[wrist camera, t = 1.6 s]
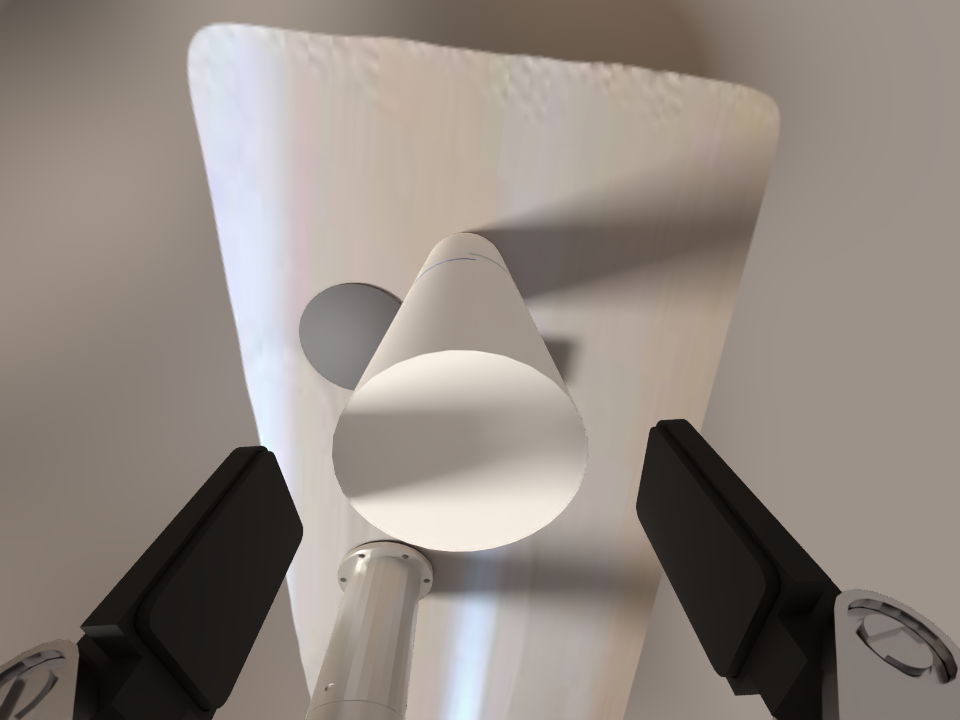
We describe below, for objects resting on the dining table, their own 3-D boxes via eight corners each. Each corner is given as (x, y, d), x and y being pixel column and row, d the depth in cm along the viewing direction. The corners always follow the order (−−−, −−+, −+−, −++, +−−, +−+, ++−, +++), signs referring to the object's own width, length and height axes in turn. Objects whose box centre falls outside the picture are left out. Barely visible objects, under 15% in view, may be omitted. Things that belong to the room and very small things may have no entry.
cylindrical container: (420, 235, 31) (300, 360, 9) (503, 229, 31) (597, 339, 9) (430, 314, 34) (360, 559, 12) (506, 309, 34) (580, 543, 12)
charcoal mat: (384, 406, 39) (383, 408, 38) (283, 355, 36) (281, 357, 35) (438, 324, 35) (438, 325, 34) (330, 259, 32) (328, 260, 32)
